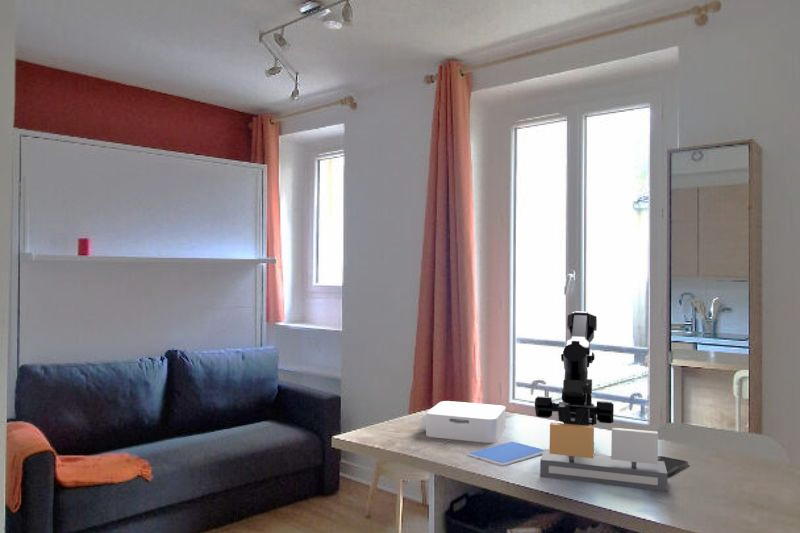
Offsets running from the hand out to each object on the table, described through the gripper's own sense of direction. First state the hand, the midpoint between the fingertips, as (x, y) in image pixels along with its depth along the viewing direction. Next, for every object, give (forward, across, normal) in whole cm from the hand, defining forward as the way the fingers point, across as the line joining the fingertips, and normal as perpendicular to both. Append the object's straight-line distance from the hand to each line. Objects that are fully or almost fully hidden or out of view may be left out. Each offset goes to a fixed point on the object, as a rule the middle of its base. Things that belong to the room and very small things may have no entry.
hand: (571, 439), depth 154 cm
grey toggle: (+4, +14, +2) cm, 15 cm away
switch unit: (+5, +7, +7) cm, 11 cm away
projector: (-17, -33, +30) cm, 47 cm away
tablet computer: (-2, -17, +16) cm, 24 cm away
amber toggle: (+4, 0, +2) cm, 4 cm away
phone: (-5, +22, +18) cm, 28 cm away
